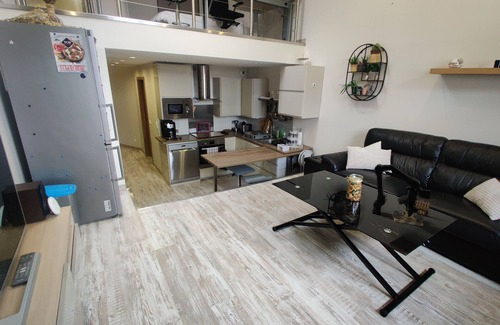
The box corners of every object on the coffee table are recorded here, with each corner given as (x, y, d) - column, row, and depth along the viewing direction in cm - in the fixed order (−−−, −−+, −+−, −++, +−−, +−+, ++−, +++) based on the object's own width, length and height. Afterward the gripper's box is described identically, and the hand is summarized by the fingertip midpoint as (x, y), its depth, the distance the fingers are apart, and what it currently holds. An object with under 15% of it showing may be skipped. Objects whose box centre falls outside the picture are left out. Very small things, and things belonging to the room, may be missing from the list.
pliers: (391, 238, 159) (364, 224, 175) (391, 239, 159) (364, 225, 175) (399, 234, 163) (372, 221, 180) (399, 235, 163) (372, 222, 180)
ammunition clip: (411, 212, 196) (414, 198, 193) (412, 211, 197) (415, 197, 194) (427, 217, 188) (430, 203, 185) (427, 216, 190) (431, 202, 186)
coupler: (402, 214, 185) (404, 208, 183) (411, 215, 183) (412, 209, 181) (404, 217, 180) (405, 211, 179) (413, 218, 178) (414, 212, 177)
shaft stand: (394, 221, 181) (396, 214, 179) (392, 215, 190) (393, 209, 188) (422, 226, 175) (424, 219, 173) (418, 219, 184) (420, 213, 182)
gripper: (397, 189, 188) (393, 208, 192) (402, 199, 171) (398, 218, 175) (413, 192, 184) (409, 210, 189) (420, 201, 167) (416, 221, 172)
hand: (408, 215), depth 181 cm, fingers closed on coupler, 5 cm apart
